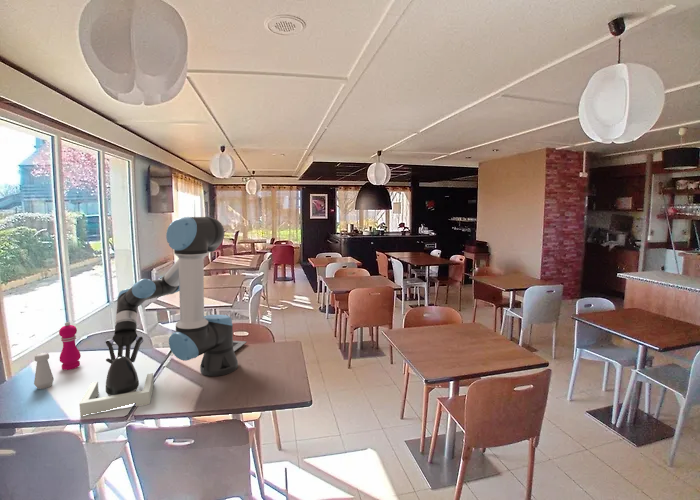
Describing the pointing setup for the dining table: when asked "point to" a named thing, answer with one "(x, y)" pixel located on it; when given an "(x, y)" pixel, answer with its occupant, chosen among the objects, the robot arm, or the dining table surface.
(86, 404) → the bay
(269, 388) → the dining table surface
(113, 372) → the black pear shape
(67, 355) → the pepper mill
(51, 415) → the dining table surface
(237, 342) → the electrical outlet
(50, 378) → the salt shaker
